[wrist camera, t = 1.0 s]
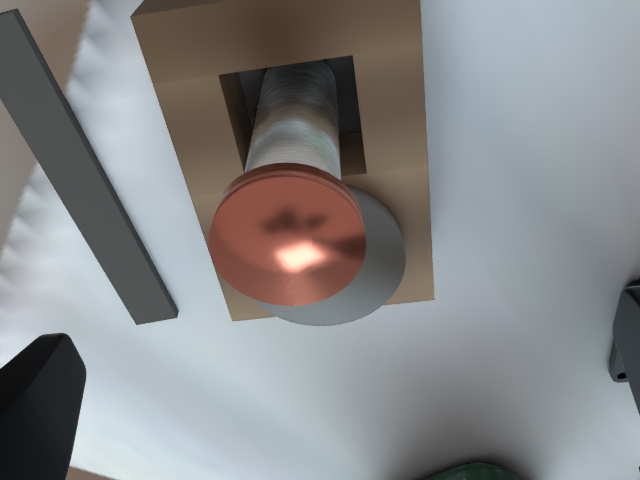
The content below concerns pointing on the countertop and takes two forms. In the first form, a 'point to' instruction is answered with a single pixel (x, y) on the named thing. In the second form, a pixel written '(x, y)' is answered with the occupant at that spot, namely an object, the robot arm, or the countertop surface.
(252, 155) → the lock pin
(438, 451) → the countertop surface
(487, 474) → the coffee jar
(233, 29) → the block
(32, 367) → the robot arm
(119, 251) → the strip
